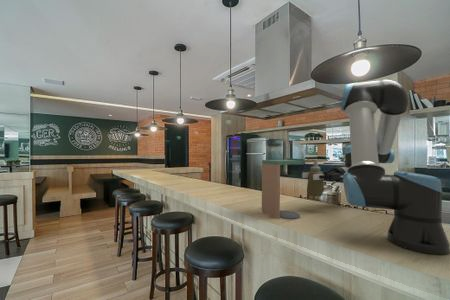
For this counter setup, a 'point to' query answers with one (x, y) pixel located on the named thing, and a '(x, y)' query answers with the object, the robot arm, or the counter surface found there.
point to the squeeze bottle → (315, 181)
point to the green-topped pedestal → (273, 185)
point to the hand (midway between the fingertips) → (307, 176)
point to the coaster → (289, 214)
